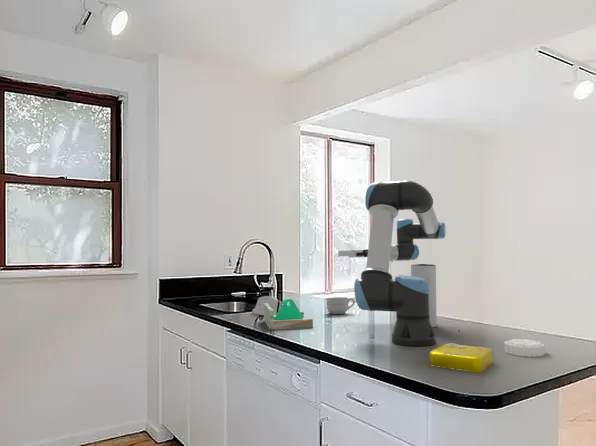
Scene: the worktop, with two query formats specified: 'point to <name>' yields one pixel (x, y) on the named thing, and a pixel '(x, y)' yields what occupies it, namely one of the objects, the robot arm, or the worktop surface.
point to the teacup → (338, 304)
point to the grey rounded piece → (271, 301)
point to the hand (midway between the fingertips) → (343, 254)
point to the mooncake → (524, 347)
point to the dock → (284, 321)
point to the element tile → (461, 357)
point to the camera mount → (288, 311)
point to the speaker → (430, 275)
